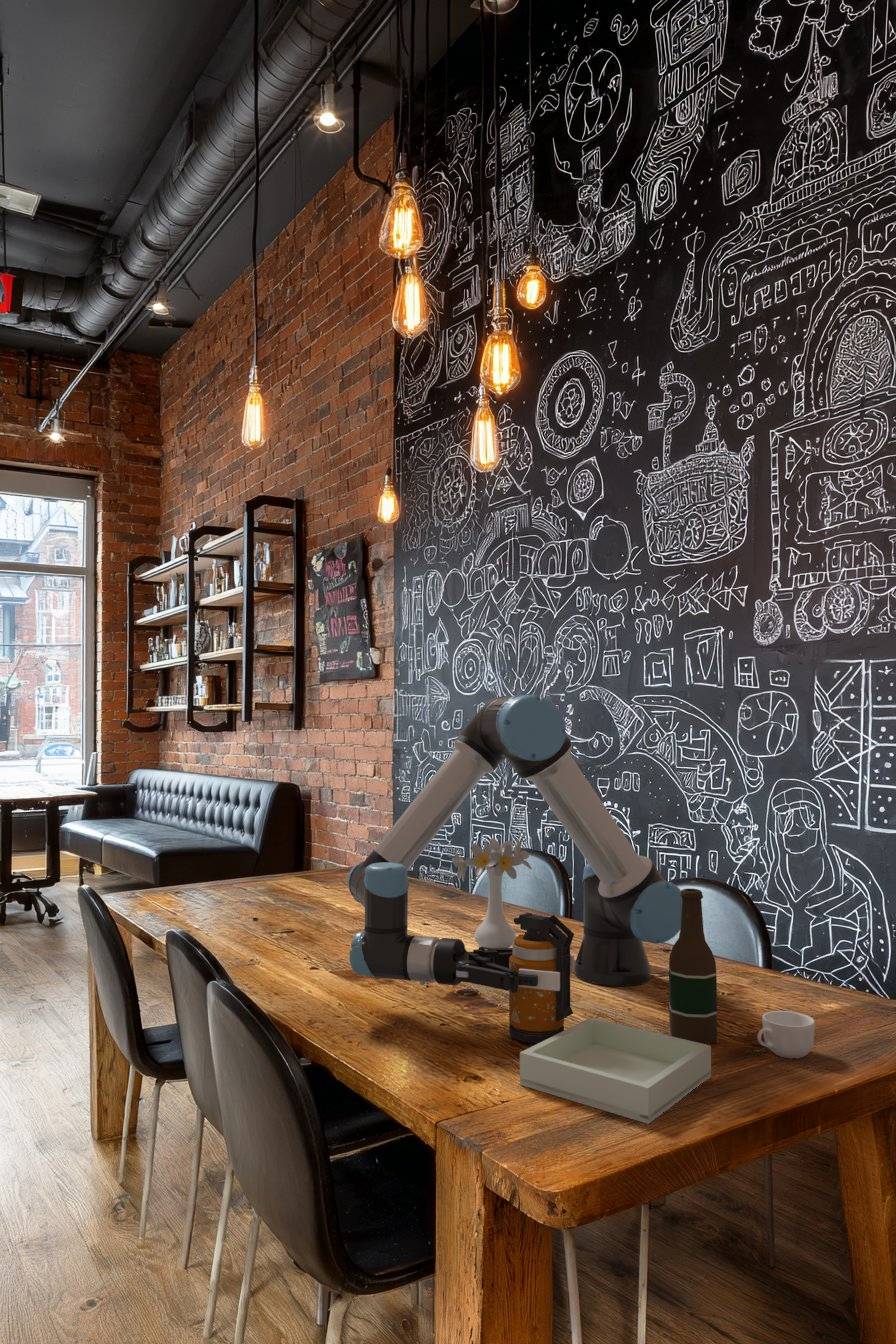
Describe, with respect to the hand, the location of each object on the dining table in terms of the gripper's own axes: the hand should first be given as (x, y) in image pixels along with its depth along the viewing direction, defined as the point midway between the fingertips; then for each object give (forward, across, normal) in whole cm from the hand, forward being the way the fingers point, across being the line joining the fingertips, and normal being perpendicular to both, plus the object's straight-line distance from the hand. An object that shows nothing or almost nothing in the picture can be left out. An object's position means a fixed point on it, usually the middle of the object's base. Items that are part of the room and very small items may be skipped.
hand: (566, 972), depth 148 cm
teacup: (+33, -6, -11) cm, 35 cm away
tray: (+10, +14, -11) cm, 20 cm away
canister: (-4, 0, -11) cm, 12 cm away
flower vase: (-27, -51, -11) cm, 59 cm away
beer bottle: (+19, -8, -11) cm, 24 cm away
